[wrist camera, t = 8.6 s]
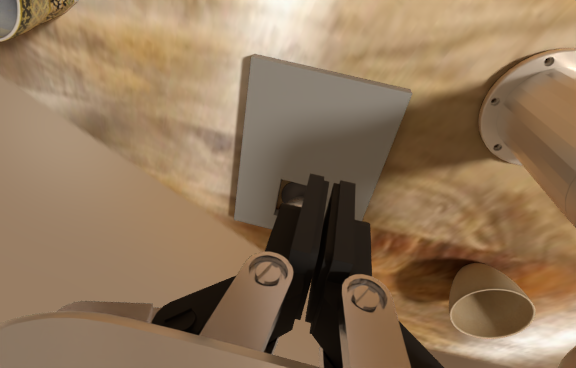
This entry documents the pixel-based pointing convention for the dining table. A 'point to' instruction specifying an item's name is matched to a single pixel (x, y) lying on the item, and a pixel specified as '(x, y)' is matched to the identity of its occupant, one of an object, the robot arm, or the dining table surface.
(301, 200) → the ball
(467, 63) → the dining table surface
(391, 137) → the grey flat plate
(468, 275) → the flower pot
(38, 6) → the ceramic cup
